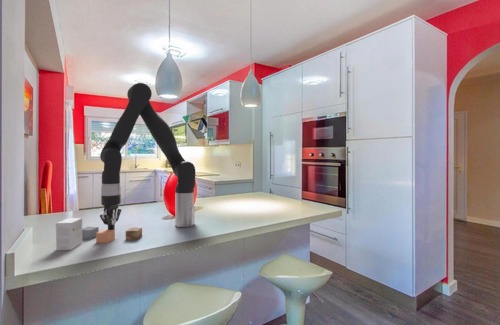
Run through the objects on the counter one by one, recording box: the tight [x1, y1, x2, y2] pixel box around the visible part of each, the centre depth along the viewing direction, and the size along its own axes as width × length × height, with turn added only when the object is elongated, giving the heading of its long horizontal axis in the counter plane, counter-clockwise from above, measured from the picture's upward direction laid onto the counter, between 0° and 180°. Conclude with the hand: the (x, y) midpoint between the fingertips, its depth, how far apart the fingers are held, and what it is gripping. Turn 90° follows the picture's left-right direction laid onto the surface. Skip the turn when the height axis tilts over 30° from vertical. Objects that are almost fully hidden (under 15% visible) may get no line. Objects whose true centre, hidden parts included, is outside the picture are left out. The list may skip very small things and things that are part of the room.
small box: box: [55, 217, 83, 251], centre depth 103 cm, size 8×6×10 cm
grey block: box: [82, 226, 100, 240], centre depth 115 cm, size 5×5×4 cm
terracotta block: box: [95, 229, 116, 244], centre depth 110 cm, size 5×5×4 cm
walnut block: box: [125, 227, 143, 241], centre depth 114 cm, size 5×5×4 cm
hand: (111, 232), depth 114 cm, fingers closed
